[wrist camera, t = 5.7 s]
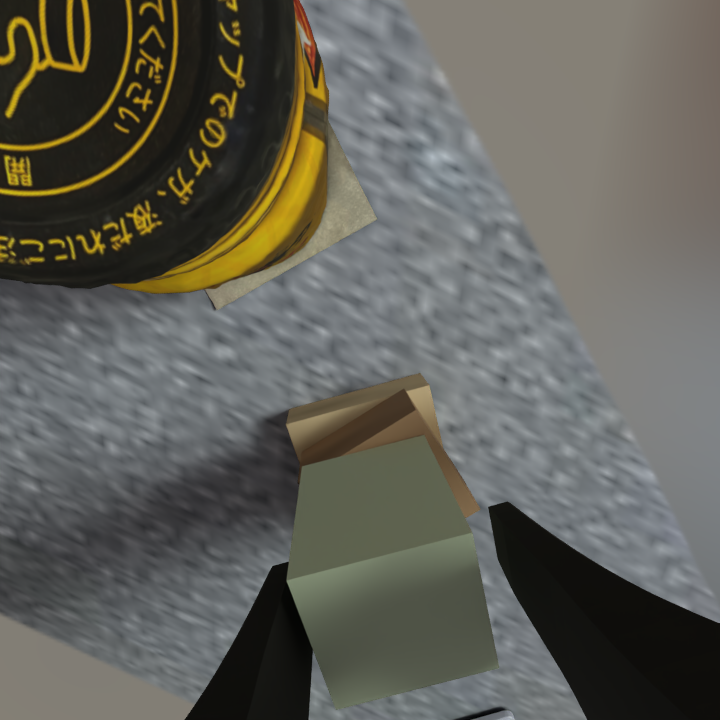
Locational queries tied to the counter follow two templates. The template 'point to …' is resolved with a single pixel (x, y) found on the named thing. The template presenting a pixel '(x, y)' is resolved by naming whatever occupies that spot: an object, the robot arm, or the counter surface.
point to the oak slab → (355, 410)
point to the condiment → (166, 145)
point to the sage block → (387, 575)
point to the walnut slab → (390, 441)
